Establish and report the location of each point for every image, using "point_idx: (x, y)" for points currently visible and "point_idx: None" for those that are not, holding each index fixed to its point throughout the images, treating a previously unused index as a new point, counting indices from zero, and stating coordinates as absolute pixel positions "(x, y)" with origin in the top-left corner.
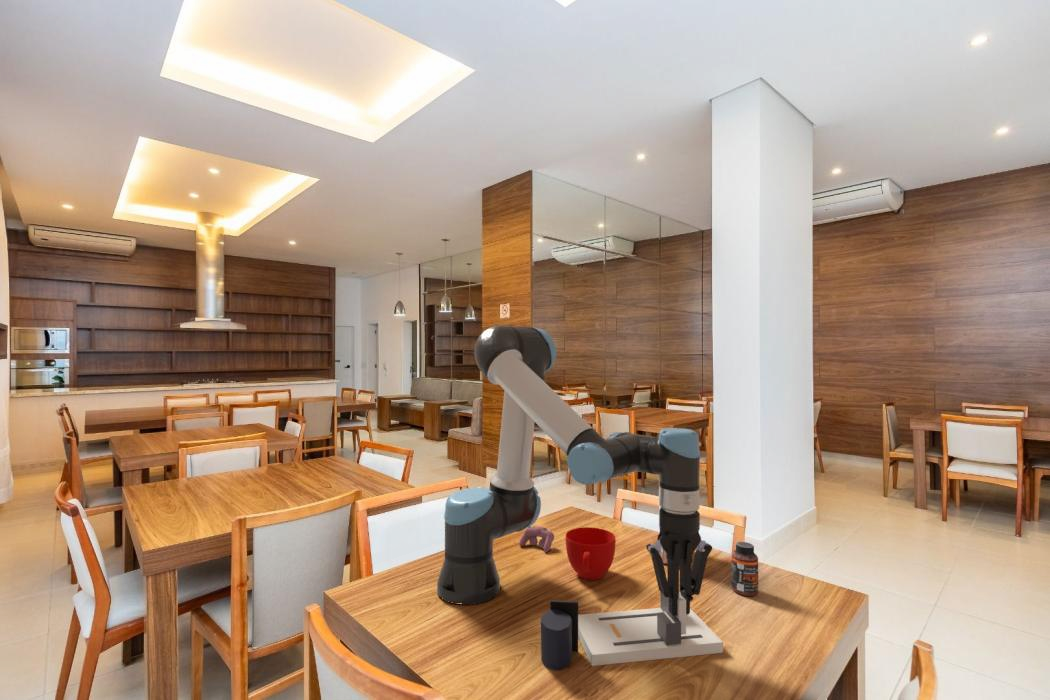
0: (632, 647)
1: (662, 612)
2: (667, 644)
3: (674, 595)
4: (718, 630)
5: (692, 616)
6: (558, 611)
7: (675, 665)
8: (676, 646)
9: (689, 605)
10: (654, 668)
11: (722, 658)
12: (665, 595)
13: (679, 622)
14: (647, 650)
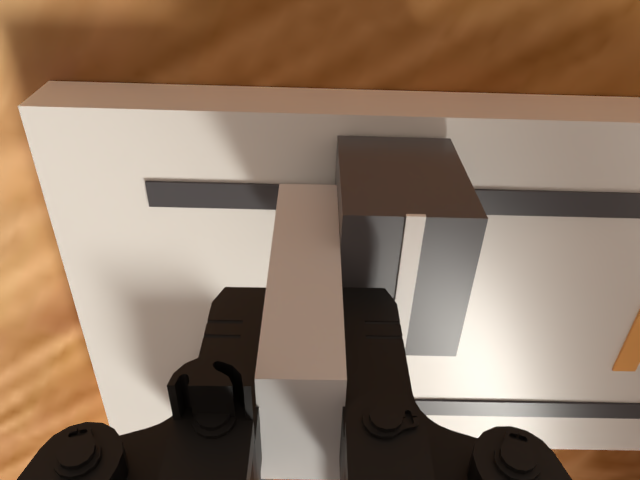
0: None
1: (412, 353)
2: (442, 138)
3: (409, 440)
4: (4, 276)
5: (124, 365)
6: None
7: (430, 12)
8: (382, 117)
9: (207, 344)
10: (585, 8)
11: (74, 24)
12: (537, 450)
13: (357, 215)
14: (596, 120)
